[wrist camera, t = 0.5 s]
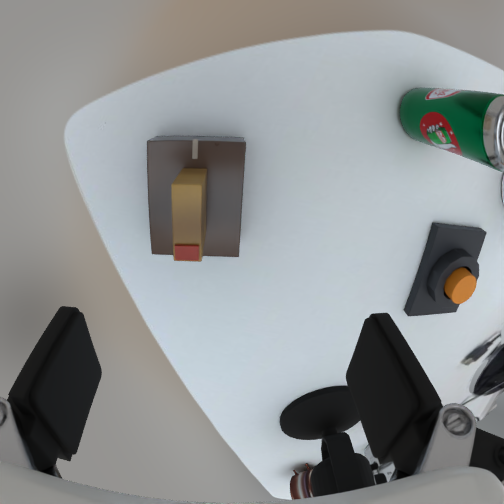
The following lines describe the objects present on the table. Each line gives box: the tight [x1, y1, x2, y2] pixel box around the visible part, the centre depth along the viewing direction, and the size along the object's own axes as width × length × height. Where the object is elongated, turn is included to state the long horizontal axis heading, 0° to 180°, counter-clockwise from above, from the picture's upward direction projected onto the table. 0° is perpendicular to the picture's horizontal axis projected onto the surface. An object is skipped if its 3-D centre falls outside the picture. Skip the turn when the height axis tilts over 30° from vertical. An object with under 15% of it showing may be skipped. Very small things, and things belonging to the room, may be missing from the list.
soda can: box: [400, 88, 504, 172], centre depth 18 cm, size 5×5×12 cm
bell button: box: [444, 267, 477, 304], centre depth 28 cm, size 4×4×2 cm
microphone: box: [280, 386, 387, 497], centre depth 30 cm, size 14×14×25 cm
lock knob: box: [171, 168, 207, 261], centre depth 20 cm, size 5×2×5 cm, turn 176°
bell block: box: [404, 223, 486, 316], centre depth 29 cm, size 11×8×3 cm
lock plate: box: [147, 136, 246, 257], centre depth 24 cm, size 9×7×3 cm
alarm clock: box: [290, 464, 314, 500], centre depth 45 cm, size 11×5×15 cm, turn 33°
